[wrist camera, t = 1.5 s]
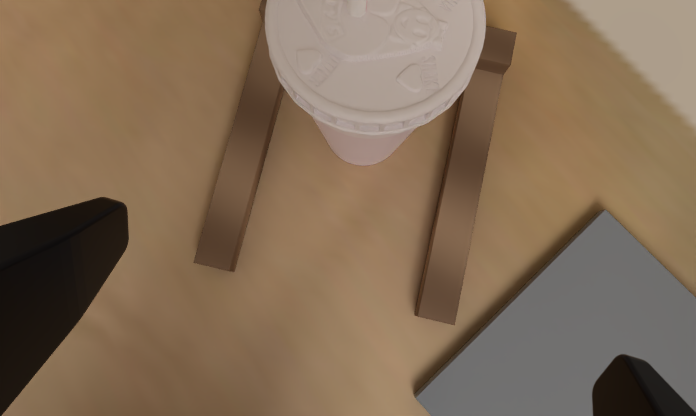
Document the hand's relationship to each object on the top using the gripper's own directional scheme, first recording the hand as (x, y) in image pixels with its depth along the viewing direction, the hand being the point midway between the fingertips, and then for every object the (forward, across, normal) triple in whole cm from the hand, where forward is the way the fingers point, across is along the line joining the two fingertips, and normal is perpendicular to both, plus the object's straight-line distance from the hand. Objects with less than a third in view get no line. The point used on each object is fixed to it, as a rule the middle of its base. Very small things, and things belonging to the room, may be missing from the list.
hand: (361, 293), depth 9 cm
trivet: (+9, -12, +10) cm, 18 cm away
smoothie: (+15, +2, +4) cm, 16 cm away
